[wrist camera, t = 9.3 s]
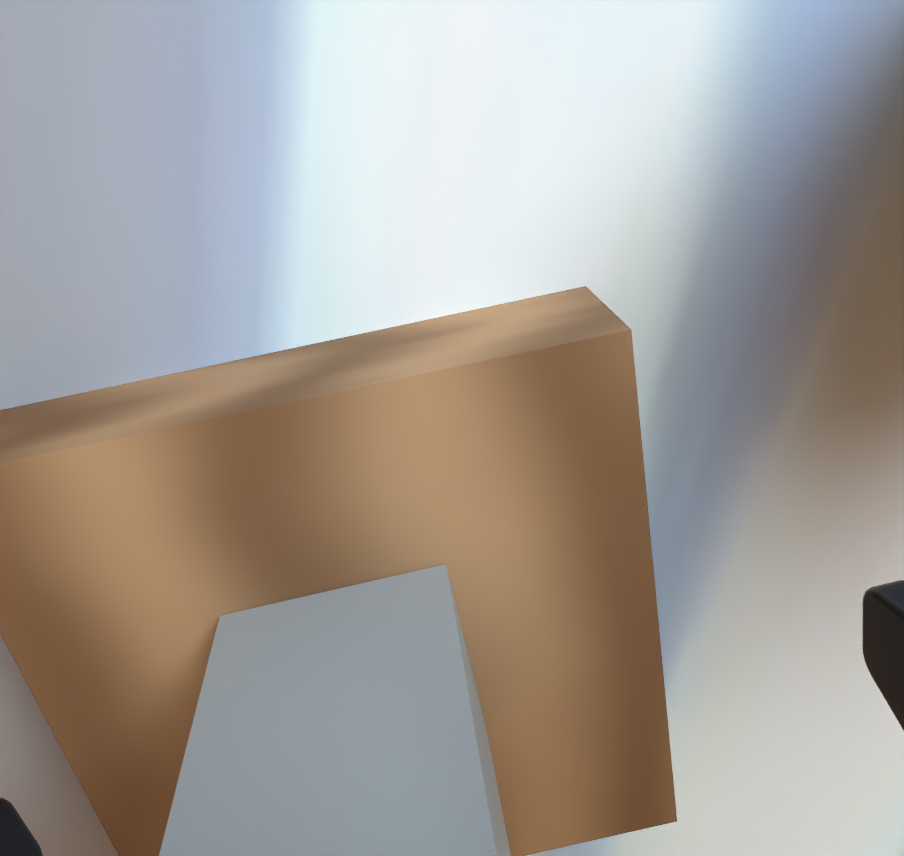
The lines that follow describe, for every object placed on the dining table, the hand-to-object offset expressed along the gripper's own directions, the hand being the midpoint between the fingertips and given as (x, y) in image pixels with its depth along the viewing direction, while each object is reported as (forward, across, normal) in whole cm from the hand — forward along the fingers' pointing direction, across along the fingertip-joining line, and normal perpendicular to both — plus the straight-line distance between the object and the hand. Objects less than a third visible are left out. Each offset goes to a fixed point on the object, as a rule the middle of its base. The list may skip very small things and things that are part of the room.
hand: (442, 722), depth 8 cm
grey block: (+8, +3, +6) cm, 11 cm away
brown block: (+12, +3, +6) cm, 14 cm away
